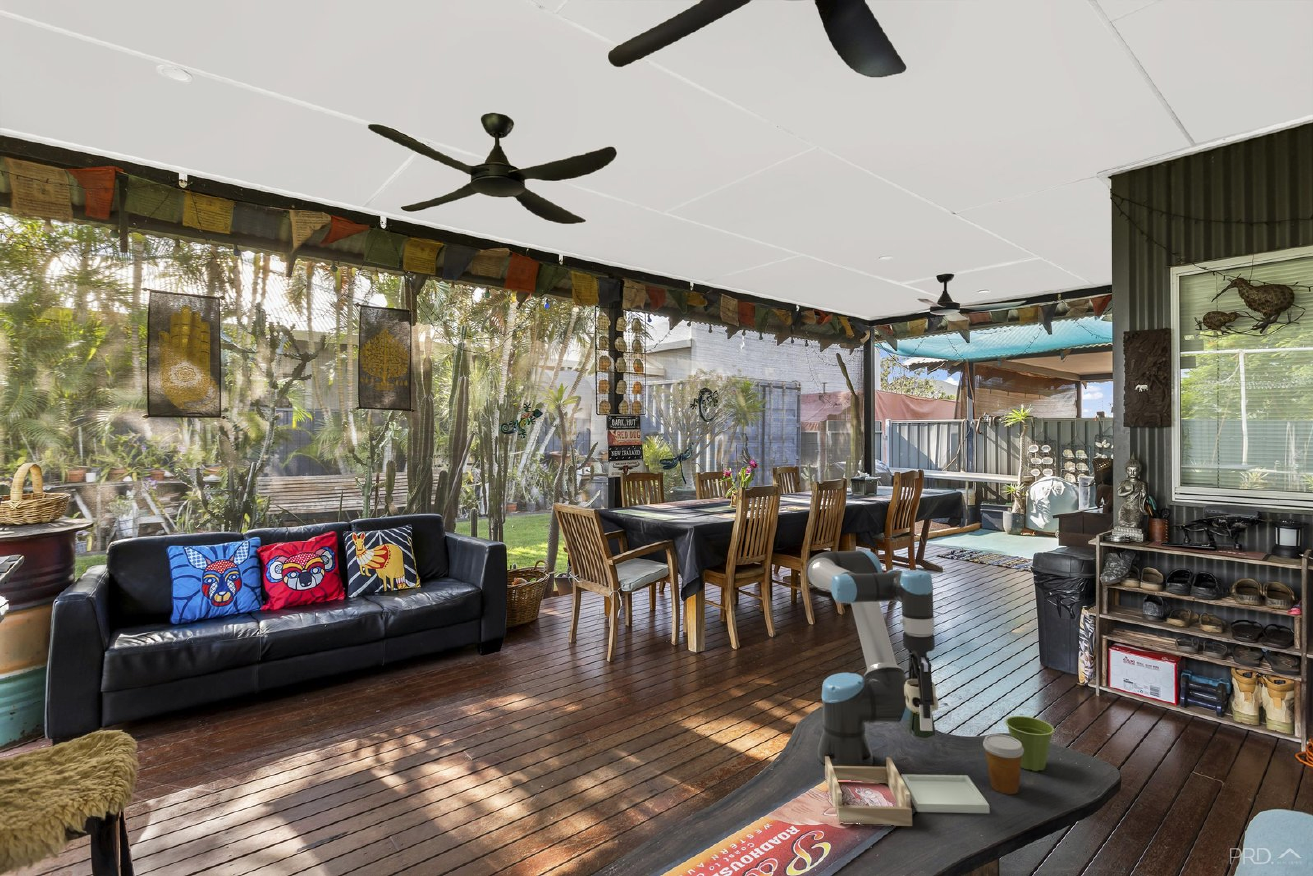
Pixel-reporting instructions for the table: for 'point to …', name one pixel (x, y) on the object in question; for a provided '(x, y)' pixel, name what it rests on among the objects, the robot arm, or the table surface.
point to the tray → (945, 794)
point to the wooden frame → (870, 814)
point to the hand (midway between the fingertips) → (921, 722)
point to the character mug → (917, 708)
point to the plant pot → (1031, 740)
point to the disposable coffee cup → (1003, 762)
